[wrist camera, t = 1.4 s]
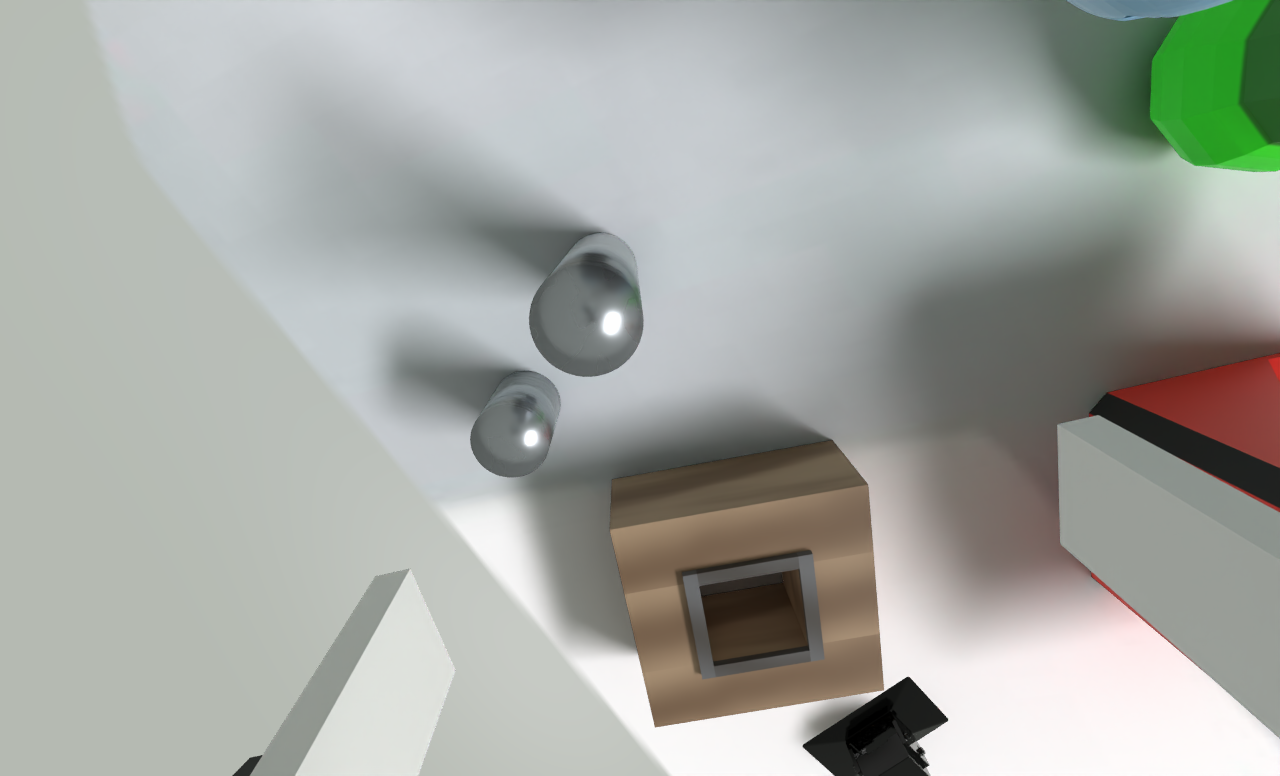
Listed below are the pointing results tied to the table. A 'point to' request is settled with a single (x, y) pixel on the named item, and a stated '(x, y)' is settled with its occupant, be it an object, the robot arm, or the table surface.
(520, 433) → the short pin
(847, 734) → the black notched mounting plate
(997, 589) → the table surface
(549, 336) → the long pin
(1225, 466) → the jack-in-the-box
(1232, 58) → the plastic bottle
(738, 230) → the table surface
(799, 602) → the hole block
